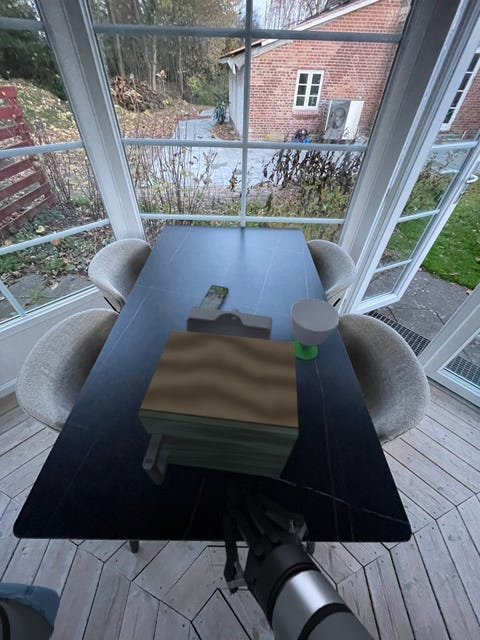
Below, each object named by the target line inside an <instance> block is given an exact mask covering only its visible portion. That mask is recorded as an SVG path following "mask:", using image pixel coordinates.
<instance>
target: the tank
mask: <svg viewBox="0 0 480 640" xmlns="http://www.w3.org/2000/svg"><path fill="white" fill-rule="evenodd" d="M185 323H186V325H185V327H186V328H185V329H186V330H185V332H194V333H204V334H214V335H224V336H234V337H244V338H254V339H264V340H271V338H272V337H271V336H272V329H273V318H272V317H270V316H266V315H259V314H252V313H247V312H246V313H245V312H240V310H239V309H238V308H232V309H231V311H230V310H222V309H219V310H216V309H209V308H202V307H199V306H192V307H191V309H190V311H189V313H188V315H187V318H186V321H185Z"/></svg>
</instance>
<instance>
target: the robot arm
mask: <svg viewBox="0 0 480 640" xmlns="http://www.w3.org/2000/svg"><path fill="white" fill-rule="evenodd" d="M223 486H224V489H225V491H226V493H227V495H228V497H227V498H226V499H225V503H226V506H227V508H228V511H229V514H225V515H224V516H223V517H222V519H221V520H222V529H223V530H222V531H223V538H224V539H223V541H224V548H225V557H226V558H225V563H224V569H223V577H224V580H225V584H226V586H227V588H228V590H229V593H230V594H231V595H234V594H236V593H237V592H238V591H239V588H240V587H246V588H247V591H248V592H249V593H251V594H253V595H254V596H255V597H256V600H257V601H258V604H259V606H260V608H261V610H262V612H263V615H264V617H265V620H266V621H267V623H268V626H269V628H270V629H271V631H272V633H273V636H274V638H275V640H376V639H375V637H373V635H372V634H371V633H370V632H369V630H367V628H366V627H365V625H364V624H363V623H362V622H361V621H360V619H359V618H358V616H356V615H355V613H354V612H353V610H352V609H351V608H350V606H349V605H348V604H347V602H346V600H344V599H343V597H342V596H341V594H340V593H339V592H338V591H337V590H336V588H335V586H333V584H332V583H331V582H330V580H329V579H328V578H327V577H326V575H325V574H324V573H323V572H322V570H321V569H320V567H319V566H318V565H317V564H316V562H315V561H314V560H313V559H312V557H311V556H310V555H309V553H308V552H307V551H306V550H305V548H304V544H302V540H303V538H305V537H308V536H309V530H308V527H307V523H306V521H305V518H304V515H303V514H301V513H297V512H291V511H289V510H288V509H286V508H285V507H283V506H281V505H280V504H279V503H277V502H276V501H274V500H272V499H271V498H269V497H267V496H266V495H265V494H263V493H261V492H258V493H256V494H255V497H251V496H250V495H249V493H248V492H247V490H245V489H244V488H241V489H240V490H239V489H238V488H237V486H236V485H235V483H234V482H233V480H232V479H231V478H230V479H228V480H227V481H225V482H223ZM247 514H249V517H250V519H252V521H253V523H254V524H255V526H256V527H257V529H258V530H259V532H260V533H261V536H259V537H257V535H256V534H255V532H254V531H253V530H252V529H251V527H250V525H249V523H248V522H247V520H246V518H245V516H246V515H247ZM265 516H267V517H268V518H269V519H271V520H272V521H273V522H275V523H276V524H278V525H279V526H280V527H282V528H283V530H281V529H275V528H274V527H273V525H272V524H271V523H270V521H269V520H268V519H267V518H266V517H265ZM236 527H237V529H238V531H239V532H240V534H241V535H242V538H243V540H244V542H245V544H246V546H247V548H248V550H247V555H246V560H245V566H244V569H243V566H242V564H241V563H240V558H239V551H238V544H237V537H236V531H235V528H236ZM284 530H285V531H284ZM60 604H61V597H60V595H59V593H58V592H57V590H54V589H52V588H49V587H45V586H40V585H29V584H25V583H18V582H4V581H2V582H1V581H0V640H50V639H51V638H52V636H53V634H54V631H55V623H56V619H57V617H58V612H59V610H60V609H59V608H60V606H61V605H60Z"/></svg>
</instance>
